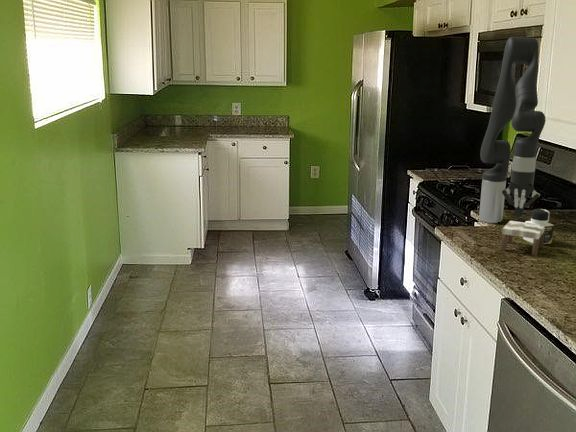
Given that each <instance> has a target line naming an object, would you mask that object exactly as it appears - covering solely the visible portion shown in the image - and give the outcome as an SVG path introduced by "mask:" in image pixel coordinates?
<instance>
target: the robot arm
mask: <svg viewBox="0 0 576 432" xmlns="http://www.w3.org/2000/svg"><path fill="white" fill-rule="evenodd" d="M539 47H540V46H539V42H538V39H536V38H535V37H525V36H524V37H523V36H511V37H509V38H508V39H507V40H506V43H505V47H504V51H503V55H502V56H503V57H502V64H501V68H500V70H501V71H500V75H499V79H498V83H497V87H496V91H495V94H494V99H493V102H492V103H493V104H492V106H491V107H492V108H491V112H490V117H489V121H488V125H487V129H486V131H485V133H484V134H485V135H484V137H483V140H482V143H481V147H480V153H479V155H480V160H481V162H482V163H484V164H496V165H495V166H494V167H492V168H490V169H488V170H485V171H483V173H482V179H481V180H482V181H481V182H482V183H481V191H480V202H479V203H480V205H479V213H478V214H479V215H478V221H481V222H483V223H487V224H498V222H500V223H501V221H502V222H503V216H504V215H503V214H504V207H505V200H506V201H507V202H508V205H510V206H512V207H514V211H513V215H514V217H515V218H516V219H521V218H522V217H524V213H525V212H524V209H525V208H528V207H530V205H532V203H534V202H535V201H536V200H537V199H538V198H539V197H540V196H541V194H540V193H539V192H537V191H536V190H535V186H534V182H535V173H536V163H537V162H536V159H537V158H536V156H537V148H538V143H539V139H540V136H541V134H542V132H543V130H544V127H545V125H546V121H547V120H546V116H545V113H544V112H543V111H541V110H535V109H536V108H537V107H538V103H539V101H538V100H539V99H538V90H537V89H538V87H537V86H538V85H537V82H538V81H537V79H538V69H539V67H538V66H539V53H540V48H539ZM513 64H523V65H525V64H526V65H527V68H526V70H525V72H524V73H523V74H522V75H521V77H520V78H519V79H518V81H517V83H516V81H515V78H514V76H513V68H512V67H513ZM510 122H511V127H512V129H513V130H514V131H515V132H522V133H524V132H525V133H528V132H529V133H530V135H528V136H526V137H522V138H518V139H516V141H515V142H514V151H513V159H512V163H511V164H512V165H511V172H510V183H509V185H508V187H507V188H506V185H507V176H508V173H509V167H510V161H511V153H512V152H511V151H512V147H511V143H510V142H509V141H508V140H503V139H502V140H500V139H498V136H499V134H500V133H501V132H502V130H503V129H504V128H505V127H506V126H507V125H509V123H510ZM497 139H498V140H497ZM530 195H531V198H530V199H529V200H527V198H528V197H529V196H530ZM512 196H513V197H514V198H513V197H512ZM526 201H527V202H526Z"/></svg>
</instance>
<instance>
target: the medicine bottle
mask: <svg viewBox="0 0 576 432" xmlns="http://www.w3.org/2000/svg"><path fill="white" fill-rule="evenodd" d="M549 221H550V211H549V210H547V209H545V208H544V209H543V208H535V209H532V210H531V215H530V220H525V222H524V223H531V224H539V225H545V232H544V240H543V245H546V244H549V245H550V244H552V241H553V235H554V224H552V223H550V222H549ZM522 238H523V240H525V241H526V242H528V243H531V244H533V241H534V239H533V238H526V237H522Z"/></svg>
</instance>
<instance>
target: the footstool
mask: <svg viewBox="0 0 576 432" xmlns="http://www.w3.org/2000/svg"><path fill="white" fill-rule="evenodd" d="M544 232H545V225H539V224H531V223H525V222H523V221H516V220H509V221H508V222H507V223H506V224H505V225H504V226H503V227H502V231H501V241H500V251H502V252H506V251H507V244H508V243H509V244H512V243H513V240H514V237H521V238H523V237H526V238H533V239H534V241H533V243H532V251H531V256H535V257H537V256H538V252H539V251H538V250H539V248H540V249H542V248H543V247H544V244H543V240H544Z"/></svg>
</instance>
